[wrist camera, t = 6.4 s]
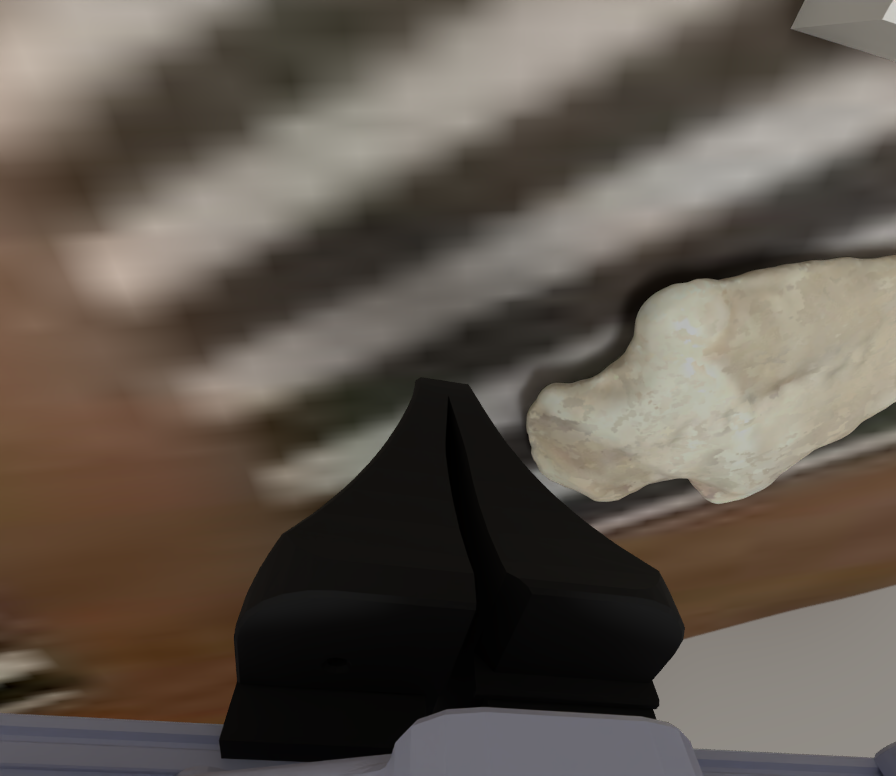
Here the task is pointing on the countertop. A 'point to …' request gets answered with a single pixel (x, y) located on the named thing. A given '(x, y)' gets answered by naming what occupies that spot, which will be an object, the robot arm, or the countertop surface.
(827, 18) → the digit one block
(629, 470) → the rock
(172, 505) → the countertop surface
